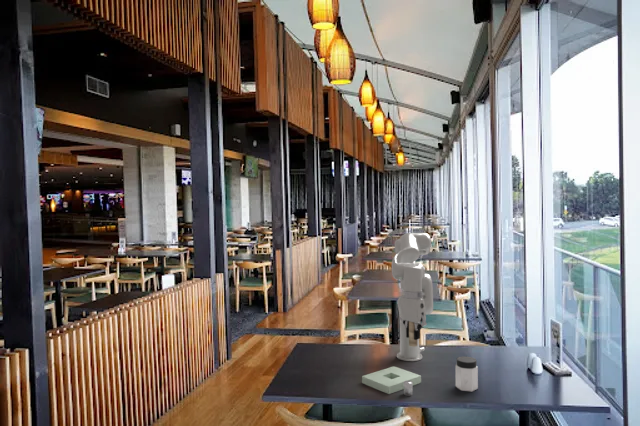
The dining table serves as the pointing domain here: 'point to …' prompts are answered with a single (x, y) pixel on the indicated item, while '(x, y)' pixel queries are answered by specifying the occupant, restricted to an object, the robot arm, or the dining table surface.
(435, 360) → the dining table surface
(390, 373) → the hole board
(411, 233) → the robot arm
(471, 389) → the jar
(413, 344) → the birch pin
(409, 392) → the steel pin
